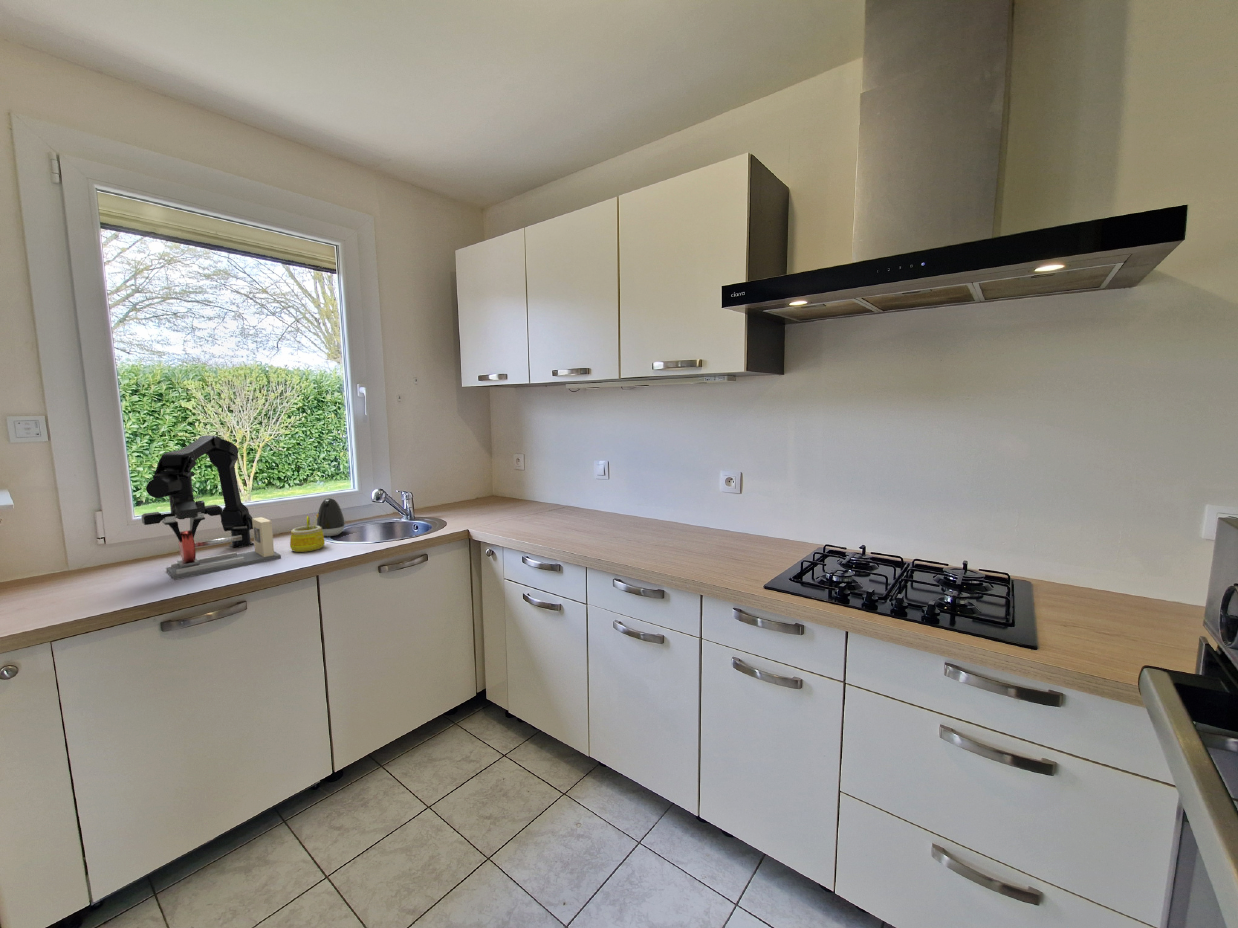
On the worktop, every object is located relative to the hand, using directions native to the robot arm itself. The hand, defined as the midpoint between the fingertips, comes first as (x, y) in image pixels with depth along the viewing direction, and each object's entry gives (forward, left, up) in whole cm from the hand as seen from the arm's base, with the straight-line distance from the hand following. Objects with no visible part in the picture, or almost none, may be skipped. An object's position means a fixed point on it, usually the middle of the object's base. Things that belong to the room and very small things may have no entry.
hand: (186, 540), depth 158 cm
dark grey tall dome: (-15, +47, -10) cm, 51 cm away
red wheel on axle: (0, +6, -8) cm, 10 cm away
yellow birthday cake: (+1, +34, -10) cm, 36 cm away
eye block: (0, +10, -10) cm, 14 cm away
